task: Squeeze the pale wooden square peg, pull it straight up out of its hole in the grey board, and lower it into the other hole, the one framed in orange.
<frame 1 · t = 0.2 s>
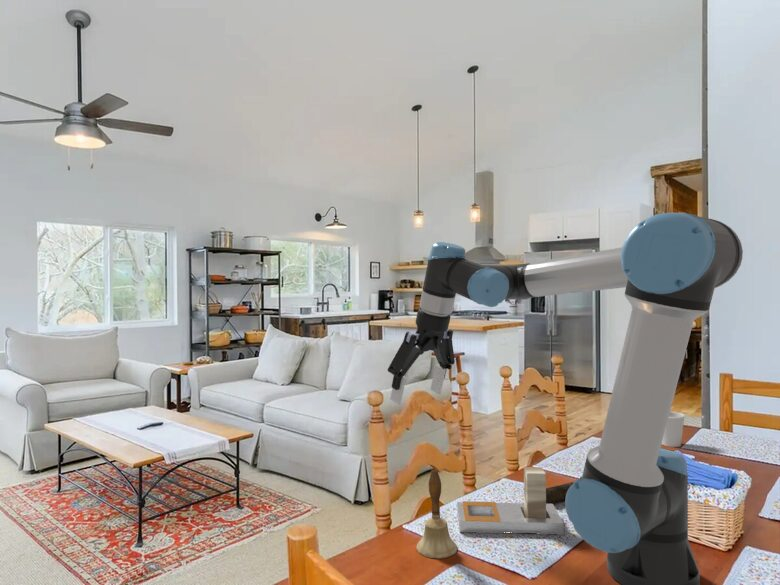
hand: (416, 396, 123), 27 cm above the table, tool tilted 20°, fingers open, 13 cm apart
hand tool: (571, 497, 132), on the table
hand bell: (436, 549, 107), on the table
peg: (535, 523, 117), resting in grey board
dixie cup: (670, 444, 173), on the table
grey board: (507, 523, 117), on the table
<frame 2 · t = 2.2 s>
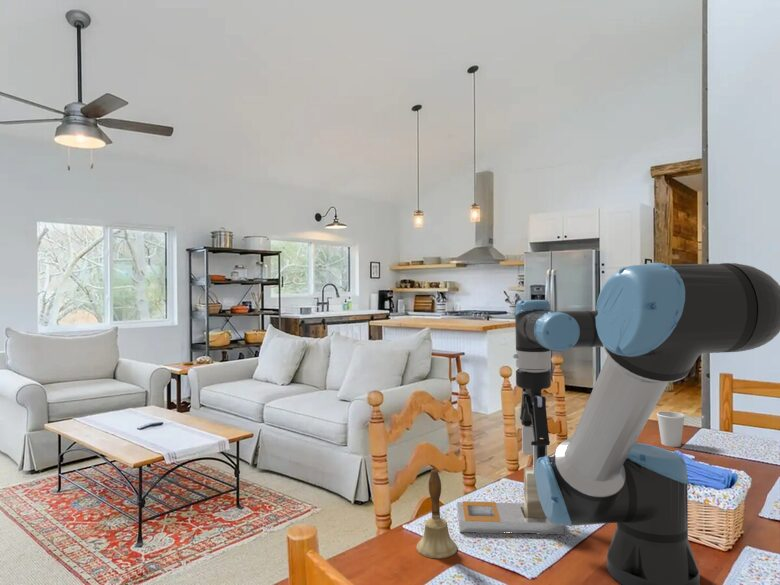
hand: (533, 463, 117), 13 cm above the table, tool pointing down, fingers open, 13 cm apart
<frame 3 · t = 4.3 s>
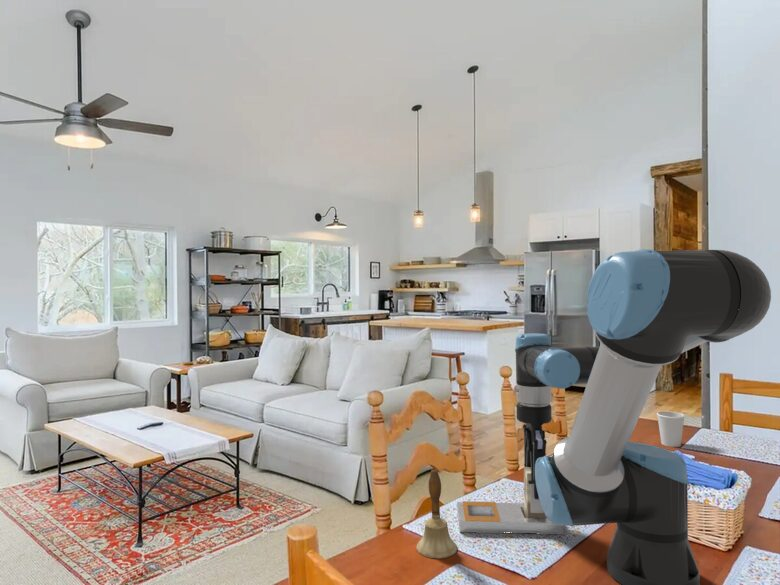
hand: (534, 507, 117), 4 cm above the table, tool pointing down, fingers closed on peg, 4 cm apart
peg: (535, 523, 117), resting in grey board, touching gripper
everything else where it was.
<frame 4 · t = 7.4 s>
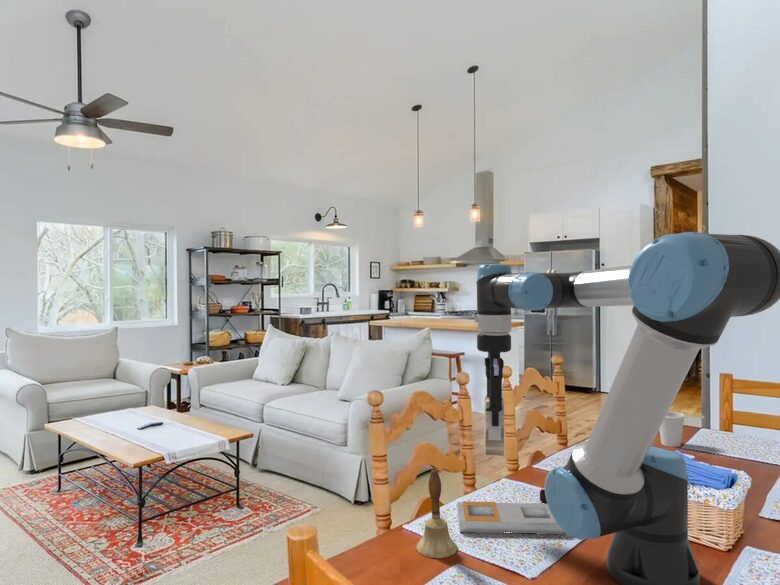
hand: (493, 436, 118), 19 cm above the table, tool pointing down, fingers closed on peg, 4 cm apart
peg: (494, 452, 118), point 16 cm above the table, touching gripper
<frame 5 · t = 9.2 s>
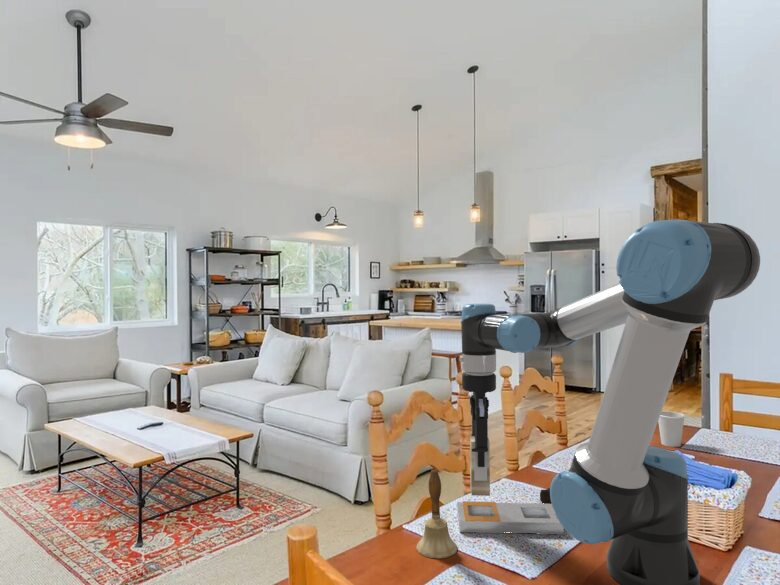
hand: (479, 475, 118), 10 cm above the table, tool pointing down, fingers closed on peg, 4 cm apart
peg: (479, 492, 118), point 7 cm above the table, touching gripper
when the fingers open (5 cm above the table, at t = 10.8 s): peg drops 1 cm, resting in grey board.
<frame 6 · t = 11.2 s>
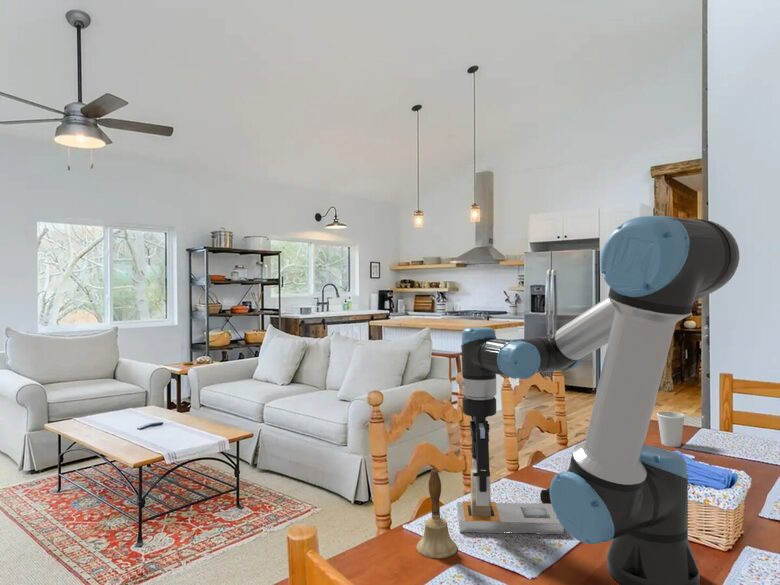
hand: (480, 496, 118), 6 cm above the table, tool pointing down, fingers open, 9 cm apart
peg: (480, 522, 118), resting in grey board
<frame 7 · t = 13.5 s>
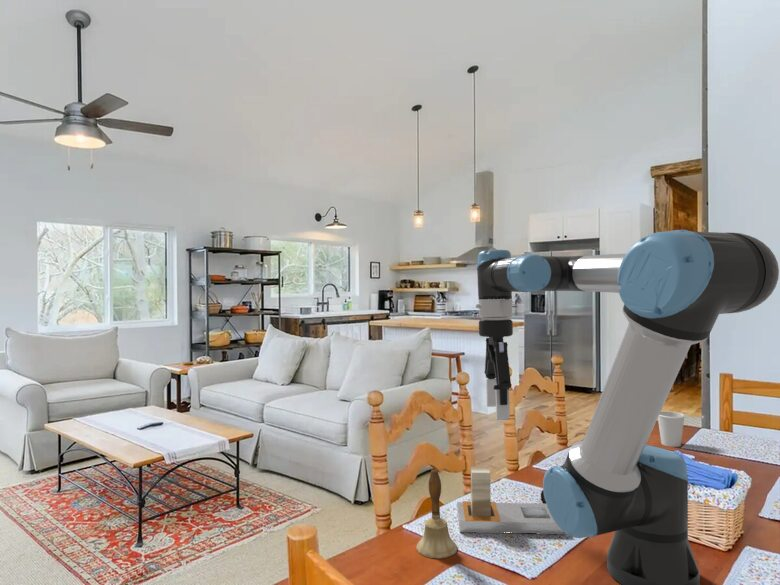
hand: (497, 412, 118), 25 cm above the table, tool pointing down, fingers open, 13 cm apart
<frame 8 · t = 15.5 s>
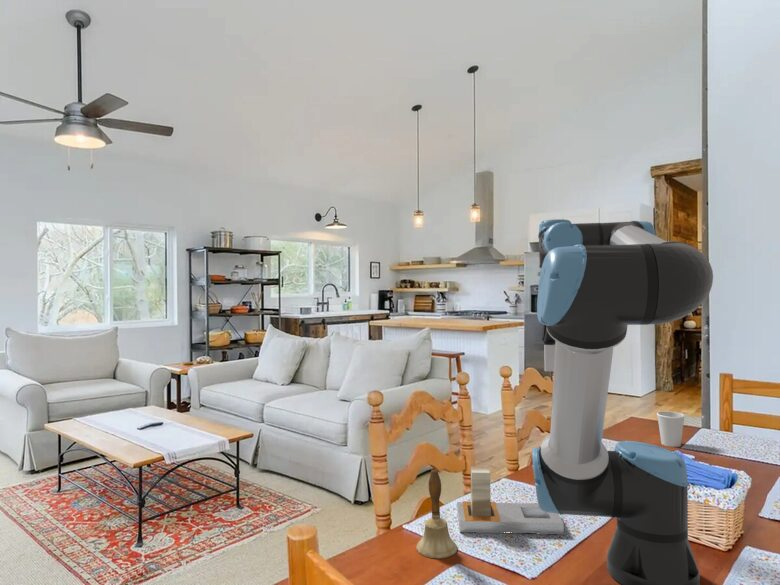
hand: (557, 375, 124), 32 cm above the table, tool pointing down, fingers open, 13 cm apart
at the end: peg 0.1 cm from the target spot on the grey board, point 0.0 cm above the grey board's base; peg tilted 0°; the gripper is holding nothing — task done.
